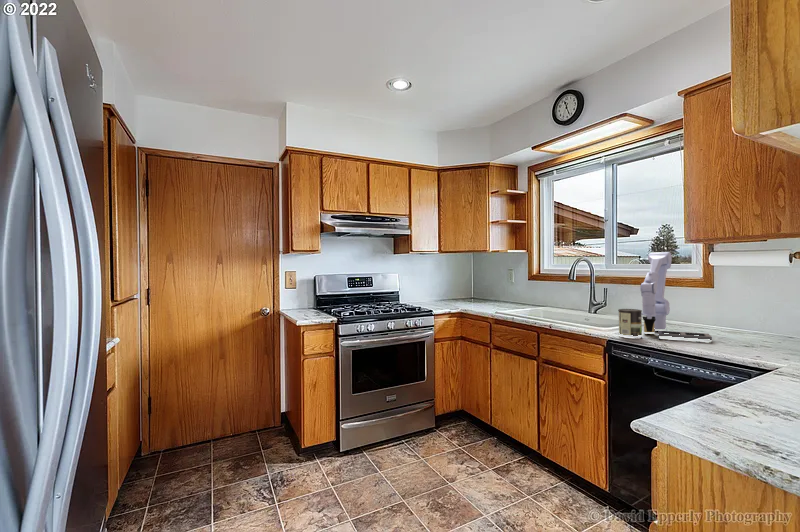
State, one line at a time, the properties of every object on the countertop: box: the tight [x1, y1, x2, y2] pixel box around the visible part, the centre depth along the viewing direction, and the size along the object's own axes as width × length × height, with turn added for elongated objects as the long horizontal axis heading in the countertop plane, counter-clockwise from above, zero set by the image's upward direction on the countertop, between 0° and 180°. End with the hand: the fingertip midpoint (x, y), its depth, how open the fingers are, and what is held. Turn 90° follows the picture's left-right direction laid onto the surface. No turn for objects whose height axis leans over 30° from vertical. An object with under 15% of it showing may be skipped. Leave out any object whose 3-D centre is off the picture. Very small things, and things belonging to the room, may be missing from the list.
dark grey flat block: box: [657, 330, 713, 341], centre depth 189 cm, size 10×20×3 cm, turn 59°
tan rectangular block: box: [643, 321, 656, 333], centre depth 202 cm, size 4×4×6 cm
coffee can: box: [618, 308, 643, 336], centre depth 196 cm, size 10×10×14 cm
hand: (649, 330), depth 202 cm, fingers closed on tan rectangular block, 4 cm apart
